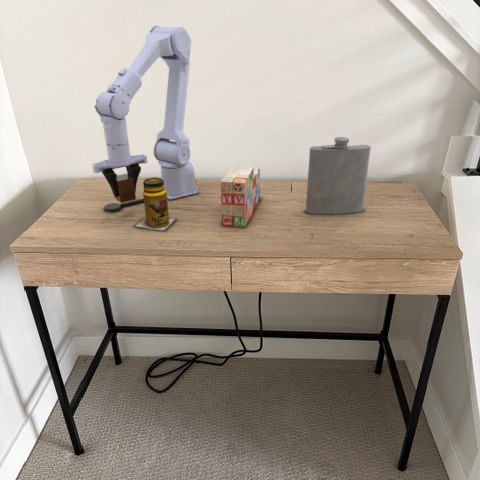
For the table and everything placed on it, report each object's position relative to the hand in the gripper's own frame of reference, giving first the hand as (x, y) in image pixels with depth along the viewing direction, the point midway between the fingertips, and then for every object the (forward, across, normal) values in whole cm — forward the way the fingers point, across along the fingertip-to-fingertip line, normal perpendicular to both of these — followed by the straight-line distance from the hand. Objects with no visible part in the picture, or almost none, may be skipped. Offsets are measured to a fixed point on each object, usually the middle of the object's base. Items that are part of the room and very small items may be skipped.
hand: (124, 193), depth 138 cm
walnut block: (+1, 0, 0) cm, 1 cm away
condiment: (+6, -4, +10) cm, 12 cm away
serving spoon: (+6, -4, -6) cm, 9 cm away
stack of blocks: (+6, -27, +16) cm, 33 cm away
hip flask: (+6, -48, +31) cm, 58 cm away
